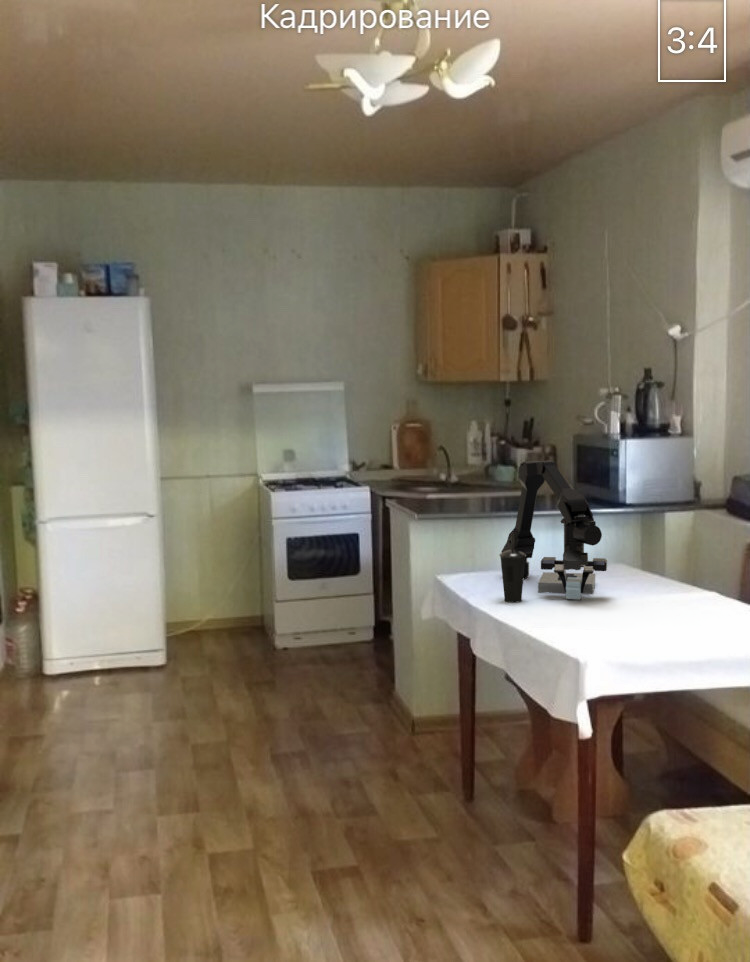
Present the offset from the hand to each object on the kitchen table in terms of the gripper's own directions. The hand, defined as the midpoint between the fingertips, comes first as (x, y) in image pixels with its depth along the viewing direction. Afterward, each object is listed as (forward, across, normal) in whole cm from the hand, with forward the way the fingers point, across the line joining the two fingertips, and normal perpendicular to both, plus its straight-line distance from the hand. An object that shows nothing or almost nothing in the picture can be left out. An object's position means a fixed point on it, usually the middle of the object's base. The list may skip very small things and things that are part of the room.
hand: (574, 593), depth 305 cm
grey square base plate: (+2, -3, +14) cm, 14 cm away
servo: (+1, 0, 0) cm, 1 cm away
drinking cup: (+2, -17, -6) cm, 18 cm away
